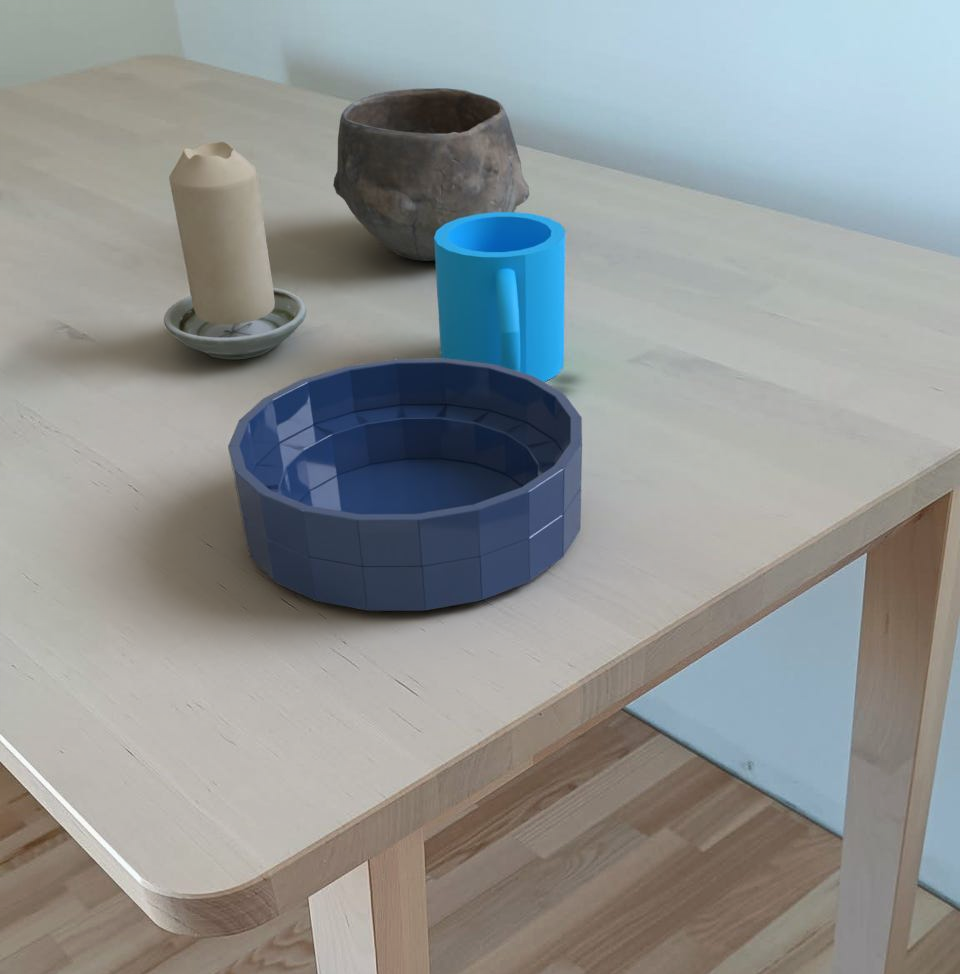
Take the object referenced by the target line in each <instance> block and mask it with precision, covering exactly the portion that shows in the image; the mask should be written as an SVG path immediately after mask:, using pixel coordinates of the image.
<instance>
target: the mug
mask: <svg viewBox="0 0 960 974" xmlns="http://www.w3.org/2000/svg"><path fill="white" fill-rule="evenodd" d="M434 243H435V260H434V261H435V276H436V277H435V278H436V279H435V280H436V295H437V309H438V310H437V311H438V327H439V328H438V329H439V343H440V344H439V348H440V358H446V359H447V358H448V359H456V360H464V361H472V362H480V363H488V364H495V365H498V366H502V367H505V368H508V369H511V370H515V371H518V372H521V373H525V374H528V375H531V376H534V377H536V378H538V379H539V380H541V381H543V382H544V383H546V382H547V381H549V380H550V379H553V378H555V377H557V375H558V374H559V373H560V372H561V371H562V370H563V369H564V361H565V293H566V291H565V290H566V288H565V287H566V286H565V285H566V284H565V283H566V282H565V281H566V229H565V228H564V226H563V225H562V224H561V222H558V221H556V220H554V219H552V218H550V217H546V216H543V215H539V214H538V215H537V214H535V213H527V212H517V211H514V212H493V213H484V214H475V215H471V216H467V217H463V218H458V219H456V220H454V221H451V222H449V223H446V224H444V225H443V226H442V227H441V228H439V229H438V230H437V231H436V234H435V237H434Z"/></svg>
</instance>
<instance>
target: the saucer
mask: <svg viewBox="0 0 960 974" xmlns="http://www.w3.org/2000/svg"><path fill="white" fill-rule="evenodd" d="M273 291H274V300H275V306H274V309H273V311H272V312H271V313H269V314H268V315H266V316H264V317H262V318H260V319H257V320H254V321H250V322H245V323H239V324H214V323H209V322H205V321H203V320H201V319H199V318H198V317H197V316H196V313H195V311H194V307H193V302H192V297H191V295H189V296H187V297H184V298H182V299H180V300H179V301H177V302H175V303H174V304H172V305H171V306H170V307H169V308H168V309H167V310H166V312H165V313H164V316H163V324H164V327H165V329H166V331H167V332H168V333H170V335H172V336H173V337H175V338H177V339H178V340H179V341H181V342H182V343H183V344H185V345H186V346H187V347H189V348H192V349H194V350H197V351H199V352H203V353H206V354H207V355H209V356H211V357H214V358H217V359H221V360H231V361H232V360H235V361H236V360H246V359H252V358H255V357H259V356H262V355H264V354H267V353H268V352H270V351H271V350H272V349H274V347H275V346H277V345H279V344H282V342H284V341H285V340H288V338H289V337H291V336H292V335H293V334H294V333H295V331H296V330H297V329H298V328H299V326H300V325H302V323H304V320H305V319H306V317H307V316H306V315H307V306H306V304H305V302H304V300H302V299H301V298H300V297H299V296H298V295H297V294H294V293H292V292H291V291H288V290H285V289H281V288H276V287H273Z"/></svg>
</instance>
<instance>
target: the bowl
mask: <svg viewBox="0 0 960 974" xmlns="http://www.w3.org/2000/svg"><path fill="white" fill-rule="evenodd" d="M338 126H339V127H338V134H337V169H336V173H335V175H334V178H333V184H332V185H333V188H334V191H335V193H336V194H337V195H338V196H339V197H340V198H342V200H343V201H344V202H345V203H346V205H347V207H348V208H349V210H350V212H351V213H352V214H353V215H354V217H355V218H356V219H357V221H358V222H360V224H361V225H362V226H363V228H364V229H366V231H368V232H369V234H371V235H372V236H373V237H374V238H375V240H376V241H378V243H380V245H381V246H382V247H384V248H385V249H387V250H388V251H390V252H392V253H394V254H396V255H398V256H400V257H403V258H406V259H409V260H413V261H414V260H415V261H421V262H423V261H424V262H431V261H435V243H434V237H435V234H436V231H437V230H438V229H439V228H441V227H442V226H443V225H444V224H446V223H449V222H451V221H454V220H456V219H458V218H463V217H467V216H471V215H475V214H484V213H493V212H515V210H516V209H517V207H518V206H520V205H522V204H523V203H525V202H527V201H528V198H529V197H530V190H529V189H530V186H529V184H528V183H527V181H526V179H525V178H524V175H523V170H522V162H521V159H520V158H521V157H520V155H519V151H518V148H517V144H516V140H515V137H514V134H513V130H512V126H511V123H510V120H509V117H508V114H507V112H506V110H505V107H504V106H503V105H502V103H500V102H499V101H497V100H496V99H494V98H491V97H488V96H486V95H483V94H479V93H475V92H472V91H468V90H465V89H456V88H449V87H447V88H446V87H445V88H443V87H436V88H407V89H397V90H396V89H395V90H389V91H384V92H378V93H374V94H371V95H367V96H365V97H363V98H361V99H359V100H356V101H354V102H352V103H350V104H349V105H348V106H347V107H345V108H344V110H343V112H342V113H341V115H340V119H339V125H338Z"/></svg>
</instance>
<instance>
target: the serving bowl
mask: <svg viewBox="0 0 960 974" xmlns="http://www.w3.org/2000/svg"><path fill="white" fill-rule="evenodd" d="M227 446H228V447H227V449H228V454H229V461H230V466H231V471H232V476H233V481H234V487H235V493H236V498H237V503H238V508H239V509H238V510H239V514H240V520H241V525H242V530H243V534H244V539H245V542H246V546H247V550H248V553H249V557H250V559H251V560H252V561H253V562H254V563H255V564H256V565H257V566H258V567H259V568H260V569H261V570H262V571H263V572H264V573H265V574H266V575H267V576H268V577H269V578H270V579H271V580H272V582H274V583H276V584H277V585H280V586H282V587H284V588H286V589H288V590H290V591H293V592H296V593H298V594H300V595H302V596H303V597H306V598H309V599H310V600H313V601H316V602H321V603H325V604H330V605H336V606H340V607H347V608H352V609H357V610H363V611H367V612H368V611H372V612H373V611H375V612H376V611H378V612H380V611H381V612H382V611H384V612H386V611H388V612H389V611H391V612H393V611H396V612H397V611H398V612H399V611H401V612H402V611H404V612H405V611H407V612H409V611H414V612H415V611H418V612H419V611H420V612H421V611H430V610H435V609H440V608H446V607H452V606H457V605H463V604H470V603H475V602H480V601H483V600H486V599H489V598H492V597H494V596H497V595H499V594H502V593H505V592H507V591H509V590H512V589H514V588H518V587H519V586H523V585H525V584H527V583H530V582H531V581H532V580H534V579H535V578H536V577H538V576H539V575H540V574H542V573H543V572H544V571H546V570H547V569H549V568H551V567H552V566H553V565H554V564H555V563H557V562H558V561H560V560H561V559H563V558H564V557H565V555H566V553H567V552H568V550H569V549H570V547H571V545H572V544H573V542H574V541H575V540H576V537H578V534H579V533H580V531H581V519H582V518H581V517H582V515H581V514H582V513H581V512H582V472H583V471H582V469H583V467H582V466H583V465H582V462H583V418H582V416H581V414H580V413H579V412H578V409H576V408H575V406H574V404H573V403H572V402H571V401H570V400H569V398H568V397H567V395H566V394H565V393H563V392H561V391H559V390H558V389H557V388H554V387H553V386H551V385H549V384H548V383H546V382H543V381H541V380H539V379H538V378H536V377H534V376H531V375H528V374H525V373H521V372H518V371H515V370H511V369H508V368H505V367H502V366H498V365H495V364H488V363H480V362H472V361H464V360H456V359H448V358H447V359H446V358H441V357H439V358H432V357H431V358H395V359H394V358H393V359H386V360H379V361H373V362H366V363H359V364H350V365H347V366H342V367H338V368H336V369H332V370H329V371H325V372H322V373H319V374H315V375H312V376H307V377H305V378H302V379H299V380H297V381H295V382H293V383H291V384H290V385H287V386H285V387H283V388H281V389H279V390H278V391H275V392H273V393H271V394H269V395H267V396H266V397H263V398H262V399H261V400H260V401H258V402H257V403H256V405H254V406H253V407H252V408H251V409H250V410H249V411H248V412H246V413H245V414H244V415H243V416H242V417H240V418H239V420H238V422H237V424H236V427H235V429H234V431H233V433H232V436H231V438H230V441H229V442H228V445H227Z"/></svg>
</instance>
